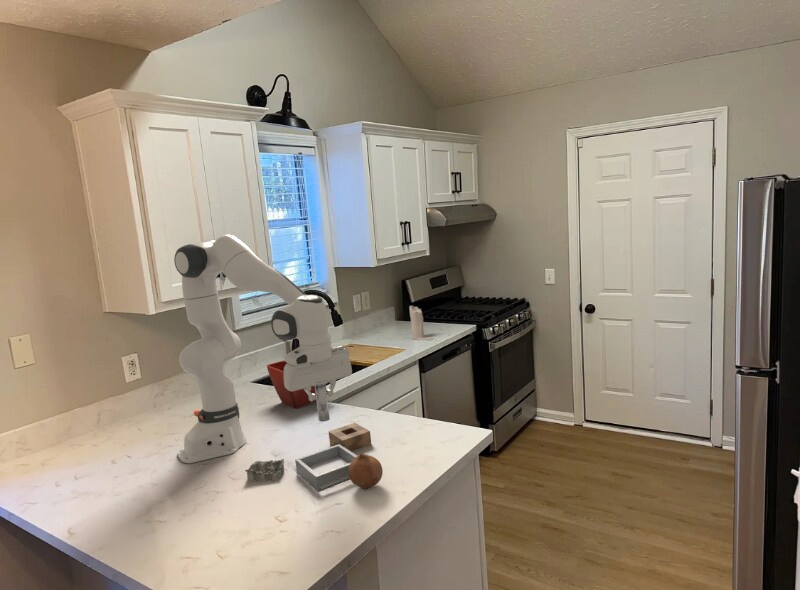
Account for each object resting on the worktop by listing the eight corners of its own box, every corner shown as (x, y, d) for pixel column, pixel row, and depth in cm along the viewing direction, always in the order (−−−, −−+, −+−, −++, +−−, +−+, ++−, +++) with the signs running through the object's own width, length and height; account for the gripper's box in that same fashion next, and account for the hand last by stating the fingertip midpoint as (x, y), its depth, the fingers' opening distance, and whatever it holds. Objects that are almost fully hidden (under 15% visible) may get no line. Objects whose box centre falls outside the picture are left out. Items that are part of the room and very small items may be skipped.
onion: (344, 486, 152) (341, 453, 151) (374, 476, 157) (371, 443, 155) (359, 500, 144) (355, 465, 142) (390, 489, 148) (386, 454, 147)
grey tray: (318, 492, 150) (316, 477, 150) (296, 473, 163) (295, 459, 162) (364, 474, 158) (363, 459, 158) (341, 457, 171) (339, 444, 170)
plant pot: (291, 413, 214) (286, 372, 212) (270, 403, 229) (265, 364, 227) (332, 400, 226) (328, 361, 223) (310, 391, 241) (305, 354, 238)
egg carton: (245, 483, 160) (243, 470, 160) (253, 471, 168) (251, 458, 167) (280, 481, 159) (278, 468, 159) (287, 469, 167) (285, 456, 166)
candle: (430, 340, 314) (427, 306, 311) (409, 339, 321) (407, 306, 318) (436, 337, 320) (433, 304, 317) (415, 336, 327) (412, 304, 324)
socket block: (344, 458, 170) (342, 440, 169) (330, 448, 178) (328, 431, 177) (371, 448, 175) (370, 431, 174) (356, 439, 184) (355, 422, 183)
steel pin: (320, 424, 155) (315, 383, 153) (313, 419, 159) (308, 380, 157) (335, 419, 157) (330, 379, 155) (327, 415, 161) (323, 376, 159)
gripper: (343, 342, 163) (347, 386, 165) (278, 357, 152) (284, 404, 154) (353, 345, 158) (357, 391, 160) (287, 361, 147) (293, 410, 149)
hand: (321, 397), depth 157 cm, fingers closed on steel pin, 4 cm apart
